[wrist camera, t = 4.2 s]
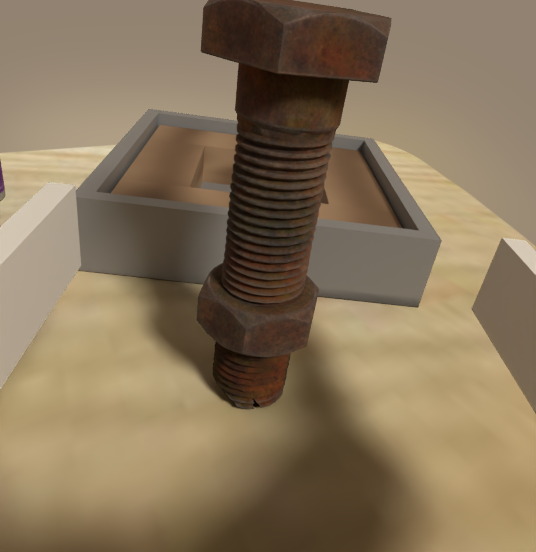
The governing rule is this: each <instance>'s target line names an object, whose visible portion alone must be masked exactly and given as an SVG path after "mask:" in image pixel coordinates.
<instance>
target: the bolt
mask: <svg viewBox="0 0 536 552" xmlns="http://www.w3.org/2000/svg"><path fill="white" fill-rule="evenodd" d="M390 27H391V18H389V17H384V16H380V15H375V14H369V13H365V12H360V11H356V10H352V9H346V8H339V7H333V6H326V5H319V4H313V3H307V2H300V1H293V0H209V1H208V2H207V3H206V5H205V6H204V8H203V24H202V40H201V52H202V53H206V54H209V55H213V56H216V57H220V58H223V59H227V60H230V61H234V62H238V63H239V68H238V79H237V92H236V106H235V111H236V113H237V121H238V124H237V132H238V134H237V135H236V141H237V143H238V144H236V145H235V151H236V154H235V155H234V162H235V163H234V164H233V174H232V183H231V185H230V188H231V192H230V195H229V197H230V201H229V210H228V217H229V218H228V220H227V229H226V232H227V235H226V244H225V252H224V257H225V258H224V260H223V263H221V264H219V265H218V266H216V267H214V268H213V269H212V271H211V272H210V273H209V275H208V276H207V278H206V280H205V282H204V284H203V287H202V289H201V292H200V294H199V297H198V310H197V321H198V322H199V324H200V325H201V326H202V327H203V329H204V330H205V331H206V332H207V334H209V335H210V336H211V337H212V338H213V339H214V340H215V341H216V344H215V353H214V363H213V376H214V378H215V380H216V382H217V384H218V385H219V386H220V387H222V389H223V390H224V392H225V393H226V394H227V396H228V397H229V399H231V400H232V401H233V402H234V404H235V406H237V407H240V408H245V409H254V407H253V405H252V404H254V401H253V398H254V400H255V401H256V402H257V403H258V404H259V406H260V407H261V408H262V407H266V406H269V405H271V404H272V403H274V402H276V401H277V400H278V399H279V398H280V396H281V395H282V392H283V387H284V385H285V379H286V374H287V368H288V365H289V363H288V362H289V360H290V353H291V352H293V351H296V350H298V349H301V348H303V347H306V344H307V341H308V336H309V332H310V328H311V323H312V319H313V314H314V310H315V305H316V301H317V296H318V292H319V288H318V287H317V286H316V285H315V283H314V282H313V281H312V280H311V279H310V278H309V277H308V276H307V275H306V274H307V272H308V266H309V259H310V252H311V249H312V241H313V239H314V235H313V234H314V232H315V230H316V228H315V226H316V225H317V220H318V219H317V218H318V216H319V208H320V206H321V198H322V197H323V190H324V182H325V179H326V178H327V176H326V171H327V170H328V161H329V160H330V158H331V154H330V151H331V150H332V141H333V140H334V137H335V131H336V129H337V128H338V127H339V125H340V121H341V117H342V112H343V107H344V102H345V97H346V92H347V88H348V83H349V80H351V81H362V82H373V83H377V82H378V79H379V75H380V71H381V66H382V62H383V58H384V53H385V49H386V44H387V40H388V35H389V31H390Z"/></svg>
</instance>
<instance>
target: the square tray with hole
mask: <svg viewBox="0 0 536 552" xmlns="http://www.w3.org/2000/svg"><path fill="white" fill-rule="evenodd" d="M236 144H238V143H237V141H236V135H235V134H227V133H219V132H212V131H204V130H196V129H189V128H181V127H173V126H166V125H159V127H158V128H157V130H156V131H155V132H154V134H153V135H152V137H151V138H150V139H149V141H148V142H147V144H146V145H145V146H144V148H143V149H142V150H141V152H140V153H139V155H138V156H137V157H136V159H135V160H134V162H133V163H132V164H131V166H130V167H129V168H128V170H127V171H126V173H125V174H124V175H123V177H122V178H121V180H120V181H119V182H118V184H117V185H116V187H115V188H114V189H113V191H112V192H111V194H120V195H128V196H136V197H145V198H153V199H161V200H170V201H178V202H186V203H195V204H203V205H211V206H220V207H228V208H229V201H230V197H229V195H230V192H225V191H217V190H208V189H200V188H201V185H202V182H209V183H217V184H225V185H231V183H232V174H233V164H234V163H235V162H234V155H235V154H236V151H235V145H236ZM330 154H331V158H330V160H329V161H328V170H327V171H326V176H327V178H326V179H325V182H324V190H323V197H322V198H321V206H320V208H319V216H318V218H320V219H328V220H336V221H345V222H353V223H361V224H370V225H378V226H386V227H395V228H402V226H401V224H400V223H399V221H398V219H397V217H396V215H395V213H394V212H393V210H392V208H391V206H390V204H389V203H388V201H387V199H386V197H385V195H384V193H383V192H382V190H381V188H380V186H379V184H378V182H377V181H376V179H375V177H374V175H373V173H372V172H371V170H370V168H369V166H368V164H367V162H366V161H365V159H364V157H363V155H362V153H361V151H357V150H349V149H342V148H334V147H332V150H331V151H330Z"/></svg>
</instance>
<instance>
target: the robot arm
mask: <svg viewBox="0 0 536 552" xmlns="http://www.w3.org/2000/svg"><path fill="white" fill-rule="evenodd" d="M80 267H81V255H80V242H79V228H78V215H77V202H76V188H75V185H70V184H62V183H54V182H48V183H47V184H46V185H45V186H44V187H43V188H42V189H40V190H39V191H38V192H37V193H36V194H35V195H34V196H33V197H32V198H31V199H30V200H29V201H28V202H26V203H25V204H24V205H23V206H22V207H21V208H20V209H19V210H18V211H17V212H16V213H15V214H14V215H12V216H11V217H10V218H9V219H8V220H7V221H6V222H5V223H4V224H3V225H2V226H1V227H0V389H1V388H2V386H3V385H4V383H5V382H6V380H7V379H8V377H9V375H10V374H11V372H12V371H13V369H14V368H15V366H16V365H17V363H18V362H19V360H20V359H21V357H22V356H23V354H24V352H25V351H26V349H27V348H28V346H29V345H30V343H31V342H32V340H33V339H34V337H35V336H36V334H37V333H38V331H39V329H40V328H41V326H42V325H43V323H44V322H45V320H46V319H47V317H48V316H49V314H50V313H51V311H52V309H53V308H54V306H55V305H56V303H57V302H58V300H59V299H60V297H61V296H62V294H63V293H64V291H65V290H66V288H67V286H68V285H69V283H70V282H71V280H72V279H73V277H74V276H75V274H76V273H77V271H78V270H79V268H80ZM472 311H473V312H474V314H475V316H476V317H477V319H478V320H479V322H480V324H481V325H482V327H483V329H484V330H485V332H486V333H487V335H488V337H489V338H490V340H491V342H492V343H493V345H494V346H495V348H496V350H497V351H498V353H499V355H500V356H501V358H502V359H503V361H504V363H505V364H506V366H507V368H508V369H509V371H510V373H511V374H512V376H513V377H514V379H515V381H516V382H517V384H518V386H519V387H520V389H521V390H522V392H523V394H524V395H525V397H526V399H527V400H528V402H529V403H530V405H531V407H532V408H533V410H534V412H535V413H536V251H535V250H534V249H533V248H532V247H531V246H530V245H529V244H528V243H527V242H526V241H525V240H517V239H509V238H502V239H501V241H500V244H499V246H498V248H497V251H496V253H495V255H494V258H493V260H492V262H491V265H490V267H489V269H488V272H487V274H486V276H485V279H484V281H483V284H482V286H481V288H480V291H479V293H478V295H477V298H476V300H475V302H474V305H473V307H472Z"/></svg>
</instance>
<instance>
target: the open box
mask: <svg viewBox="0 0 536 552" xmlns="http://www.w3.org/2000/svg"><path fill="white" fill-rule="evenodd" d="M237 124H238V121H235V120H228V119H220V118H213V117H205V116H197V115H190V114H183V113H175V112H168V111H160V110H153V109H148V111H147V112H146V113H145V114H144V115H143V116H142V117H141V118H140V119H139V121H138V122H137V123H136V124H135V125H134V126H133V127H132V129H131V130H130V131H129V132H128V133H127V134H126V135H125V136H124V137H123V138H122V140H121V141H120V142H119V143H118V144H117V145H116V146H115V147H114V149H113V150H112V151H111V152H110V153H109V154H108V155H107V156H106V158H105V159H104V160H103V161H102V162H101V163H100V164H99V165H98V167H97V168H96V169H95V170H94V171H93V172H92V173H91V174H90V175H89V177H88V178H87V179H86V180H85V181H84V182H83V183H82V184H81V186H80V187H79V188H78V189H77V190H76V202H77V215H78V228H79V242H80V255H81V267H80V268H79V270H80V271H89V272H98V273H107V274H117V275H126V276H135V277H144V278H153V279H163V280H172V281H181V282H190V283H199V284H204V282H205V280H206V278H207V276H208V275H209V273H210V272H211V271H212V269H213V268H214V267H216V266H218V265H219V264H221V263H223V260H224V258H225V257H224V252H225V244H226V235H227V232H226V229H227V220H228V218H229V217H228V210H229V208H228V207H220V206H211V205H203V204H195V203H186V202H178V201H170V200H161V199H153V198H145V197H136V196H128V195H120V194H111V192H112V191H113V189H114V188H115V187H116V185H117V184H118V182H119V181H120V180H121V178H122V177H123V175H124V174H125V173H126V171H127V170H128V168H129V167H130V166H131V164H132V163H133V162H134V160H135V159H136V157H137V156H138V155H139V153H140V152H141V150H142V149H143V148H144V146H145V145H146V144H147V142H148V141H149V139H150V138H151V137H152V135H153V134H154V132H155V131H156V130H157V128H158V127H159V125H166V126H173V127H181V128H189V129H196V130H204V131H212V132H219V133H227V134H235V135H237V134H238V132H237ZM332 147H334V148H342V149H349V150H357V151H361V153H362V155H363V157H364V159H365V161H366V162H367V164H368V166H369V168H370V170H371V172H372V173H373V175H374V177H375V179H376V181H377V182H378V184H379V186H380V188H381V190H382V192H383V193H384V195H385V197H386V199H387V201H388V203H389V204H390V206H391V208H392V210H393V212H394V213H395V215H396V217H397V219H398V221H399V223H400V224H401V226H402V228H395V227H386V226H378V225H370V224H361V223H353V222H345V221H336V220H328V219H320V218H317V219H318V220H317V225H316V226H315V228H316V230H315V232H314V234H313V235H314V239H313V241H312V249H311V252H310V259H309V266H308V272H307V274H306V275H307V276H308V277H309V278H310V279H311V280H312V281H313V282H314V283H315V285H316V286H317V287H318V288H319V292H318V296H319V297H328V298H338V299H347V300H356V301H365V302H375V303H384V304H393V305H402V306H411V307H418V306H419V303H420V300H421V298H422V295H423V292H424V289H425V286H426V283H427V281H428V278H429V275H430V272H431V269H432V266H433V264H434V261H435V258H436V255H437V252H438V249H439V247H440V244H441V241H442V240H441V239H440V237H439V236H438V234H437V233H436V231H435V230H434V228H433V227H432V225H431V224H430V222H429V221H428V219H427V218H426V217H425V215H424V214H423V212H422V211H421V209H420V208H419V206H418V205H417V203H416V202H415V200H414V199H413V197H412V196H411V194H410V193H409V191H408V190H407V188H406V187H405V185H404V184H403V182H402V181H401V179H400V178H399V176H398V175H397V173H396V172H395V170H394V169H393V167H392V166H391V164H390V163H389V161H388V160H387V158H386V157H385V155H384V154H383V152H382V151H381V149H380V148H379V146H378V145H377V144H376V142H375V141H374V139H371V138H363V137H356V136H348V135H341V134H335V137H334V140H333V141H332ZM200 189H208V190H217V191H225V192H231V188H230V185H225V184H217V183H209V182H202V185H201V188H200Z"/></svg>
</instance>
